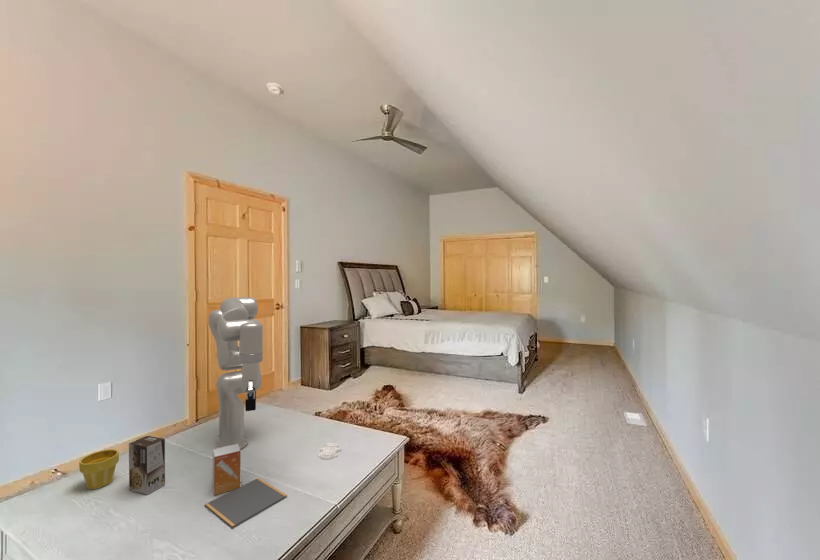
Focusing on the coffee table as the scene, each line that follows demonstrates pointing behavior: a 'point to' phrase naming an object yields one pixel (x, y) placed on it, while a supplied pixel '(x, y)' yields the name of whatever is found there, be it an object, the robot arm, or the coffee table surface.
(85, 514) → the coffee table surface
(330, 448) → the astronaut figurine
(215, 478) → the small box
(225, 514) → the mat
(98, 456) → the plant pot
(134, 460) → the coffee box
